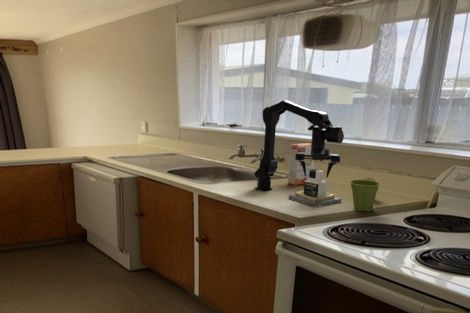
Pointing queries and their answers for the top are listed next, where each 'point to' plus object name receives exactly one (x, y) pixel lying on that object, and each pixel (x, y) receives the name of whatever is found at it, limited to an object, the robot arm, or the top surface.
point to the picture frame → (315, 199)
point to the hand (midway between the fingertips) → (316, 176)
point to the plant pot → (364, 194)
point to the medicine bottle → (315, 184)
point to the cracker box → (299, 164)
